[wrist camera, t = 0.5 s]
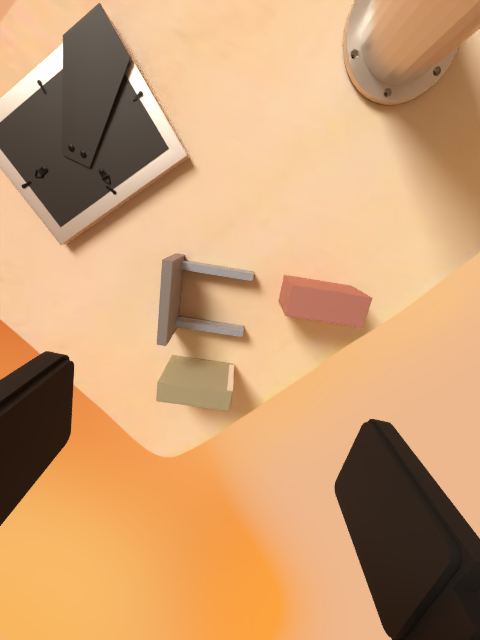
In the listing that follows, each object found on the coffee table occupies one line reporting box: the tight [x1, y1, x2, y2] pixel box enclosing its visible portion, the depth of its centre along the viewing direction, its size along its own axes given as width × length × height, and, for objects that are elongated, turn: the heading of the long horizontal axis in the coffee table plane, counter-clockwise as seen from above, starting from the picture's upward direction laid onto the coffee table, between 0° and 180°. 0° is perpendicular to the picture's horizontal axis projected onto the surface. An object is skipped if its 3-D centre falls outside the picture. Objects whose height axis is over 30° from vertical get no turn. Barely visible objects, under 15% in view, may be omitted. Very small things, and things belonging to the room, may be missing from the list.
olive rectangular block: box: [156, 355, 234, 411], centre depth 41 cm, size 3×10×8 cm, turn 81°
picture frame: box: [0, 3, 189, 245], centre depth 33 cm, size 16×3×21 cm
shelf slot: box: [157, 254, 254, 346], centre depth 37 cm, size 11×11×7 cm
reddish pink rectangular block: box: [279, 275, 372, 328], centre depth 37 cm, size 4×10×7 cm, turn 81°
